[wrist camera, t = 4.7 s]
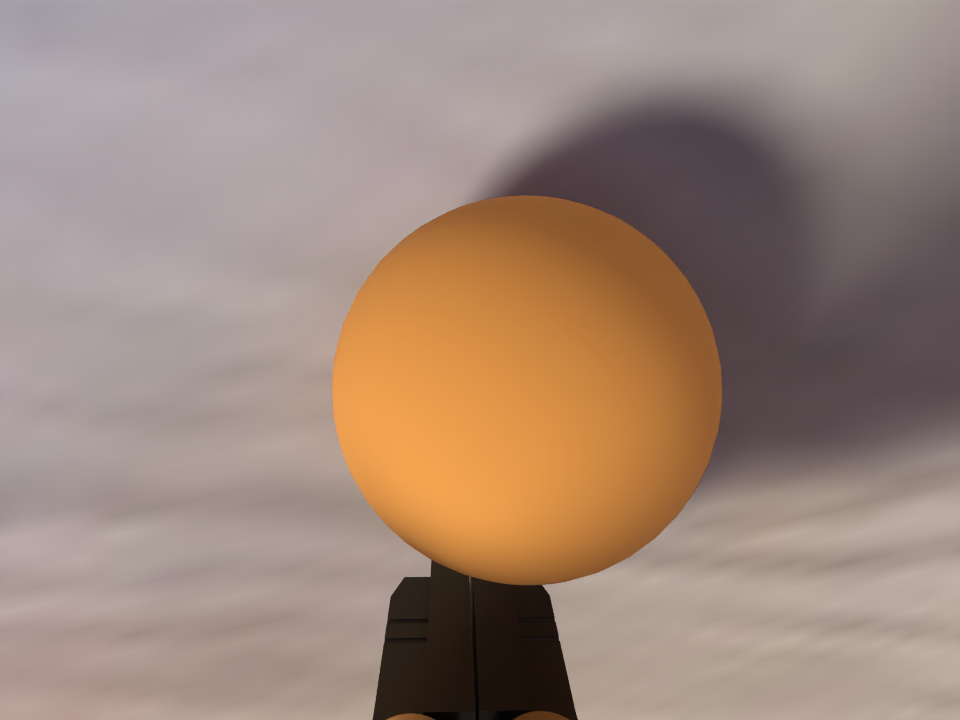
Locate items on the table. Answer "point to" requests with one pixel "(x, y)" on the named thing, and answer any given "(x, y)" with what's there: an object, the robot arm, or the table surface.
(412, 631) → the robot arm
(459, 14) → the table surface
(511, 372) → the ball
